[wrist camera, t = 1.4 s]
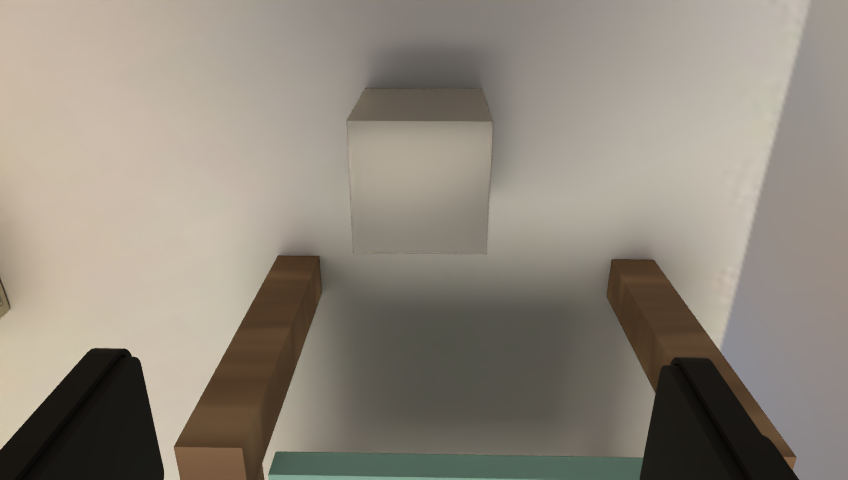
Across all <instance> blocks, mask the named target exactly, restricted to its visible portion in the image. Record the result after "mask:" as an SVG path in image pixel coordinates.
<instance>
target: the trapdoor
mask: <svg viewBox="0 0 848 480" xmlns="http://www.w3.org/2000/svg"><path fill="white" fill-rule="evenodd" d="M642 463H643V458H632V457H572V456H512V455H452V454H392V453H332V452H276V453H275V456H274V459H273V462H272V465H271V468H270V471H269V474H268V476H269V480H639V479H640V473H641V468H642Z"/></svg>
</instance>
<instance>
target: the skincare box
mask: <svg viewBox="0 0 848 480" xmlns="http://www.w3.org/2000/svg"><path fill="white" fill-rule="evenodd" d="M9 309H10V308H9V305H8V302H7V299H6V296H5V294H4V291H3V288H2V285H1V283H0V318H1V317H2V316H4V315H5V314H6V313H7V312H8V311H9Z"/></svg>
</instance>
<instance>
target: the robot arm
mask: <svg viewBox="0 0 848 480" xmlns="http://www.w3.org/2000/svg"><path fill="white" fill-rule="evenodd" d="M0 480H164V468H163V464H162V459H161V454H160V450H159V445H158V441H157V436H156V431H155V427H154V422H153V417H152V413H151V408H150V404H149V399H148V394H147V390H146V385H145V380H144V376H143V371H142V366H141V363H140V360H139V359H138V358H137V357H132V356H131V353H130V352H129V351H128V350H127V349H111V348H94V349H91V350H90V351H89V352H87V353H86V355H85V356H84V357H83V358H82V359H81V360H80V361H79V362H78V364H77V365H76V366H75V367H74V368H73V369H72V370H71V371H70V373H69V374H68V375H67V376H66V377H65V378H64V379H63V380H62V381H61V383H60V384H59V385H58V386H57V387H56V388H55V389H54V390H53V392H52V393H51V394H50V395H49V396H48V397H47V398H46V399H45V401H44V402H43V403H42V404H41V405H40V406H39V407H38V408H37V409H36V411H35V412H34V413H33V414H32V415H31V416H30V417H29V418H28V420H27V421H26V422H25V423H24V424H23V425H22V426H21V427H20V429H19V430H18V431H17V432H16V433H15V434H14V435H13V436H12V438H11V439H10V440H9V441H8V442H7V443H6V444H5V445H4V446H3V448H2V449H1V450H0ZM639 480H799V479H798V478H797V476H796V475H795V473H794V472H793V470H792V469H791V468H790V466H789V465H788V463H787V462H786V460H785V459H784V457H783V456H782V455H781V453H780V452H779V450H778V449H777V447H776V446H775V445H774V443H773V442H772V441H771V440H770V439H769V438H768V437H766V436H764V435H762V434H761V432H760V431H759V430H758V428H757V427H756V425H755V424H754V422H753V421H752V419H751V418H750V416H749V415H748V413H747V412H746V410H745V409H744V408H743V406H742V405H741V403H740V402H739V400H738V399H737V397H736V396H735V394H734V393H733V391H732V390H731V389H730V387H729V386H728V384H727V383H726V381H725V380H724V378H723V377H722V375H721V374H720V372H719V371H718V370H717V368H716V367H715V365H714V364H713V362H712V361H711V360H710V359H709V358H696V357H675V358H673V360H672V361H671V363H670V365H664V366H662V368H661V370H660V374H659V379H658V384H657V390H656V395H655V400H654V405H653V410H652V416H651V421H650V426H649V431H648V437H647V442H646V447H645V452H644V457H643V463H642V468H641V473H640V479H639Z"/></svg>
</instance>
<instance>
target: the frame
mask: <svg viewBox="0 0 848 480" xmlns="http://www.w3.org/2000/svg"><path fill="white" fill-rule="evenodd" d="M321 294H322V288H321V274H320V261H319V256H278V257H277V258H276V260H275V262H274V264H273V266H272V268H271V269H270V271H269V273H268V275H267V277H266V279H265V280H264V282H263V284H262V286H261V288H260V290H259V291H258V293H257V295H256V297H255V299H254V301H253V302H252V304H251V306H250V308H249V310H248V312H247V313H246V315H245V317H244V319H243V321H242V323H241V324H240V326H239V328H238V330H237V332H236V334H235V335H234V337H233V339H232V341H231V343H230V345H229V346H228V348H227V350H226V352H225V354H224V356H223V357H222V359H221V361H220V363H219V365H218V367H217V368H216V370H215V372H214V374H213V376H212V378H211V380H210V381H209V383H208V385H207V387H206V389H205V391H204V392H203V394H202V396H201V398H200V400H199V402H198V403H197V405H196V407H195V409H194V411H193V413H192V414H191V416H190V418H189V420H188V422H187V424H186V425H185V427H184V429H183V431H182V433H181V435H180V436H179V438H178V440H177V442H176V444H175V446H174V450H175V455H176V460H177V465H178V470H179V475H180V480H264V474H263V466H262V462H263V459H264V456H265V454H266V451H267V448H268V445H269V442H270V439H271V436H272V434H273V431H274V428H275V425H276V422H277V419H278V417H279V414H280V411H281V408H282V405H283V402H284V399H285V397H286V394H287V391H288V388H289V385H290V382H291V379H292V377H293V374H294V371H295V368H296V365H297V362H298V360H299V357H300V354H301V351H302V348H303V345H304V342H305V340H306V337H307V334H308V331H309V328H310V325H311V322H312V320H313V317H314V314H315V311H316V308H317V305H318V303H319V300H320V297H321ZM607 298H608V300H609V302H610V304H611V306H612V308H613V310H614V312H615V314H616V316H617V318H618V320H619V322H620V324H621V326H622V328H623V330H624V332H625V334H626V336H627V338H628V340H629V342H630V344H631V346H632V348H633V350H634V352H635V354H636V356H637V358H638V360H639V362H640V364H641V366H642V368H643V370H644V372H645V374H646V376H647V378H648V380H649V381H650V383H651V385H652V387H653V389H654V391H655V393H656V390H657V384H658V379H659V374H660V370H661V368H662V366H664V365H670V363H671V361H672V360H673V358H675V357H696V358H709V359H710V360H711V361H712V362H713V364H714V365H715V367H716V368H717V370H718V371H719V372H720V374H721V375H722V377H723V378H724V380H725V381H726V383H727V384H728V386H729V387H730V389H731V390H732V391H733V393H734V394H735V396H736V397H737V399H738V400H739V402H740V403H741V405H742V406H743V408H744V409H745V410H746V412H747V413H748V415H749V416H750V418H751V419H752V421H753V422H754V424H755V425H756V427H757V428H758V430H759V431H760V432H761V434H762V435H764V436H766V437H768V438H769V439H770V440H771V441H772V442H773V443H774V445H775V446H776V447H777V449H778V450H779V452H780V453H781V455H782V456H783V457H784V459H785V460H786V462H787V463H788V465H789V466H790V468H791V469H792V470H793V467H794V464H795V460H796V456H795V455H794V453H793V452H792V450H791V449H790V448H789V446H788V445H787V443H786V442H785V441H784V439H783V438H782V436H781V435H780V434H779V432H778V431H777V430H776V429H775V427H774V426H773V424H772V423H771V421H770V420H769V419H768V417H767V416H766V414H765V413H764V412H763V410H762V409H761V407H760V406H759V405H758V403H757V402H756V401H755V399H754V398H753V396H752V395H751V394H750V392H749V391H748V390H747V388H746V387H745V385H744V384H743V383H742V381H741V380H740V379H739V377H738V376H737V374H736V373H735V372H734V370H733V369H732V367H731V366H730V365H729V363H728V362H727V361H726V359H725V358H724V356H723V355H722V354H721V352H720V351H719V349H718V348H717V347H716V345H715V344H714V343H713V341H712V340H711V338H710V337H709V336H708V334H707V333H706V331H705V330H704V329H703V327H702V326H701V325H700V323H699V322H698V320H697V319H696V318H695V316H694V315H693V313H692V312H691V311H690V309H689V308H688V307H687V305H686V304H685V302H684V301H683V300H682V298H681V297H680V296H679V294H678V293H677V291H676V290H675V289H674V287H673V286H672V284H671V283H670V282H669V280H668V279H667V278H666V276H665V275H664V273H663V272H662V271H661V269H660V268H659V267H658V265H657V264H656V262H655V261H654V260H612V261H611V268H610V276H609V283H608V290H607Z"/></svg>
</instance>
